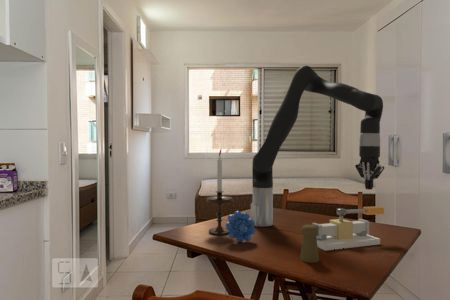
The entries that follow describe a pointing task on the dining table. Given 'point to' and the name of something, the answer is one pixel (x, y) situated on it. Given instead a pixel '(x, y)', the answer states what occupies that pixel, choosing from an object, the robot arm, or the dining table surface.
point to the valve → (344, 234)
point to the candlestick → (219, 201)
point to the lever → (362, 210)
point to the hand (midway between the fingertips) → (368, 189)
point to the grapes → (240, 226)
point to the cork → (309, 244)
